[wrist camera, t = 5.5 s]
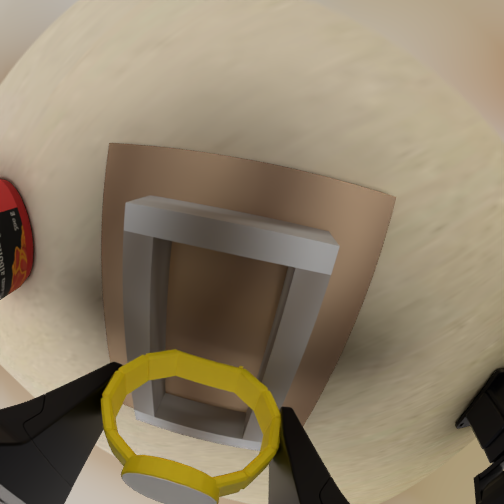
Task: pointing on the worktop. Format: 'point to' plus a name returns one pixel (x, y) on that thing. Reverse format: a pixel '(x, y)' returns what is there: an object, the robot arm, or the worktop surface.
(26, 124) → the worktop surface
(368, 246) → the track board
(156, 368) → the watch
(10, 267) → the canned food
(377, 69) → the worktop surface
